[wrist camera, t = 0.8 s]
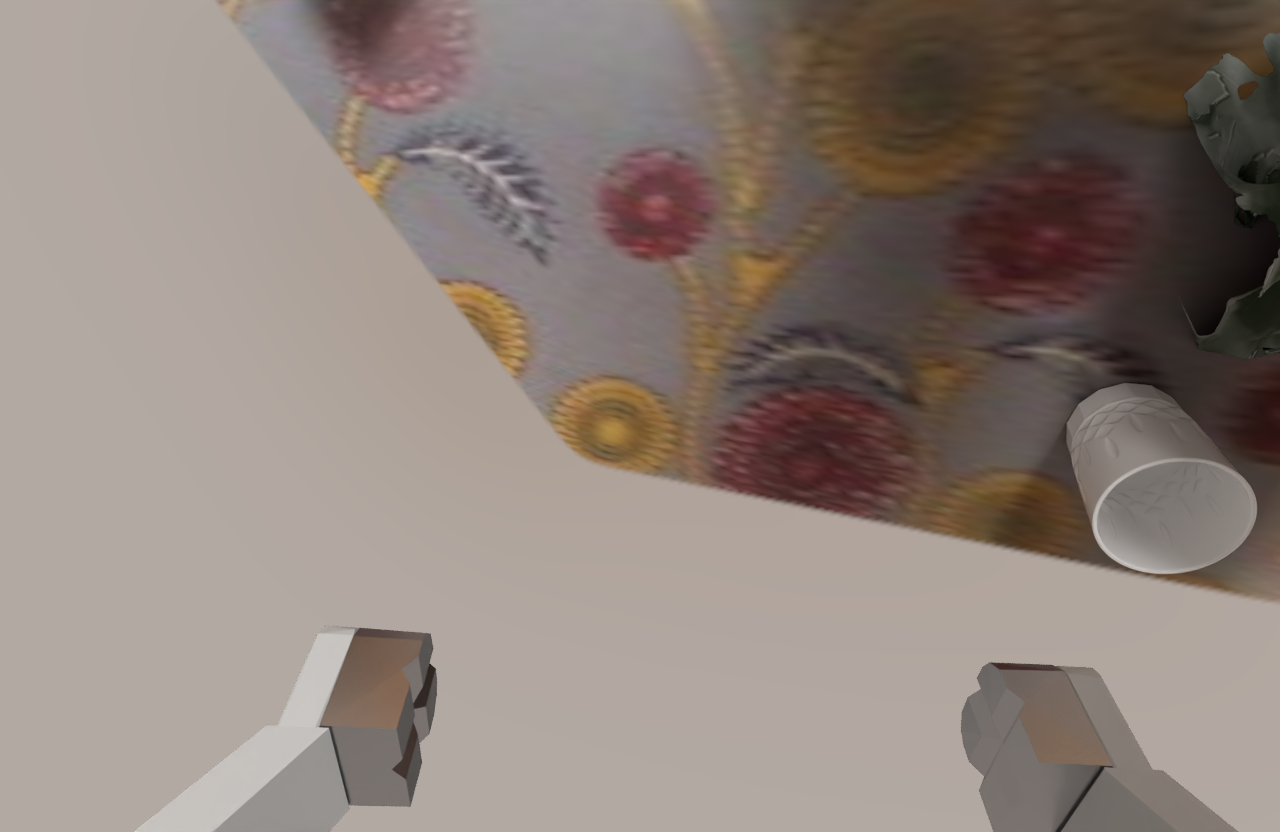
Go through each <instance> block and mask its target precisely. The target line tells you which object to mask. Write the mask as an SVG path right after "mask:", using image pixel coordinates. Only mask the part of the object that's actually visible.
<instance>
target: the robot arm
mask: <svg viewBox="0 0 1280 832" xmlns="http://www.w3.org/2000/svg"><path fill="white" fill-rule="evenodd" d="M432 651H433V645H432V639H431V634H429V633H416V632H403V631H393V630H392V631H391V630H380V629H368V628H354V627H338V626H324V627H323V628H322V630H321V631H320V632H319V633H318V634H317V636H316V638H315V640H314V642H313V645H312V647H311V649H310V652H309V654H308V656H307V658H306V661H305V663H304V665H303V668H302V670H301V672H300V675H299V677H298V679H297V681H296V684H295V686H294V688H293V690H292V693H291V695H290V697H289V700H288V702H287V704H286V706H285V709H284V711H283V713H282V716H281V718H280V720H279V722H278V725H266V726H265V727H263V728H262V729H261V730H260V731H258V732H257V733H256V734H255V735H253V736H252V737H251V738H250V739H248V740H247V741H246V742H245V743H244V744H242V745H241V746H240V747H238V749H236V750H235V751H233V752H232V753H231V754H230V755H229V756H227V757H226V758H225V759H224V760H222V761H221V762H220V763H219V764H217V765H216V766H215V767H214V768H212V769H211V770H210V771H209V772H207V773H206V774H205V775H204V776H202V777H201V778H200V779H199V780H198V781H196V782H195V783H194V784H192V785H191V786H190V787H189V788H188V789H186V790H185V791H184V792H183V793H181V794H180V795H179V796H178V797H176V798H175V799H174V800H173V801H171V802H170V803H169V804H168V805H166V806H165V807H164V808H163V809H161V810H160V811H159V812H158V813H156V814H155V815H154V816H153V817H152V818H150V819H149V820H148V821H147V822H145V823H144V824H143V825H142V826H140V827H139V828H138V829H137V830H136V831H134V832H330V831H331V829H332V828H333V827H334V826H335V825H336V824H337V823H338V822H339V820H340V819H341V818H342V817H343V816H344V815H345V813H347V811H348V810H349V805H360V806H361V805H362V806H409V807H410V806H411V802H412V799H413V795H414V791H415V787H416V783H417V780H418V776H419V772H420V768H421V764H422V759H421V752H420V744H419V743H420V742H421V741H422V740H423V739H424V738H425V737H426V736H428V735H429V733H430V729H431V725H432V721H433V717H434V710H435V703H436V696H437V676H436V669H435V668H434V667H433V666H432V665H431V664H430V659H431V655H432ZM977 679H978V682H979V684H980V687H981V689H980V690H979V691H977V692H976V693H974V694H972V695H971V696H969V697H968V698H967V701H966V703H965V706H964V708H963V711H962V720H961V733H962V738H963V744H964V748H965V750H966V754H967V757H968V760H969V762H970V763H971V764H972V765H973V766H974V767H975V768H976V769H977V770H978V771H979V772H980V773H981V774H983V775H984V779H983V782H982V784H981V787H980V789H979V792H980V795H981V798H982V800H983V803H984V806H985V809H986V812H987V814H988V817H989V820H990V823H991V826H992V829H993V831H994V832H1238V831H1237V830H1236V829H1234V828H1233V827H1231V825H1229V824H1228V823H1227V822H1226V821H1224V820H1223V819H1222V818H1221V817H1219V816H1218V815H1217V814H1216V813H1215V812H1213V811H1212V810H1211V809H1210V808H1208V807H1207V806H1206V805H1205V804H1203V803H1202V802H1201V801H1200V800H1199V799H1197V798H1196V797H1195V796H1194V795H1192V794H1191V793H1190V792H1189V791H1187V790H1186V789H1185V788H1184V787H1183V786H1181V785H1180V784H1179V783H1178V782H1176V781H1175V780H1174V779H1172V778H1171V777H1170V776H1169V775H1167V773H1165V772H1164V771H1161V770H1153V769H1152V768H1151V766H1150V764H1149V762H1148V761H1147V759H1146V757H1145V755H1144V753H1143V751H1142V750H1141V748H1140V746H1139V744H1138V743H1137V741H1136V739H1135V737H1134V735H1133V733H1132V732H1131V730H1130V728H1129V727H1128V724H1127V723H1126V721H1125V719H1124V717H1123V715H1122V713H1121V712H1120V710H1119V708H1118V706H1117V705H1116V703H1115V701H1114V699H1113V697H1112V695H1111V694H1110V692H1109V690H1108V688H1107V687H1106V685H1105V683H1104V681H1103V679H1102V677H1101V676H1100V674H1098V673H1097V672H1096V671H1095V670H1094V669H1093V668H1085V667H1066V666H1065V667H1064V666H1053V665H1039V664H1013V663H988V664H986V665H985V666H983V667H982V669H981V671H980V673H979V675H978V677H977Z"/></svg>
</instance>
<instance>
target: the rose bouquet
mask: <svg viewBox="0 0 1280 832" xmlns="http://www.w3.org/2000/svg"><path fill="white" fill-rule="evenodd" d="M1263 46H1264V48H1265V51H1266V53H1267V56H1268V58H1269V61H1270V62H1271V63H1272V65H1273V67H1274V71H1273V72H1272V73H1270V74H1269V75H1267V76H1257V75H1256V74H1255V73H1254V72H1253V71H1252V70H1251V69H1250V68H1249V67H1248V66H1247V65H1246V64H1244V63H1243V62H1242V61H1241V60H1239V59H1238V58H1236V57H1234V56H1231V55H1230V54H1229V53H1226V54H1223V59H1220V60H1219V64H1217V65H1214V66H1211V67H1210V68H1209V70H1208V71H1207V72H1206V74H1205V75H1204V76H1203V77H1202V78H1201V79H1200V80H1199V81H1198V82H1197V83H1196V84H1195V85H1194V86H1193V87H1192V88H1190V89H1189V90H1188V91H1187V92H1186V93H1185V94H1184V98H1185V100H1186V101H1187V114H1188V116H1189V117H1191V119H1193V120H1191V121H1192V123H1193V124H1194V125H1195V127H1196V128H1197V129H1196V130H1197V132H1196V134H1197V135H1198V137H1199V140H1200V142H1201V144H1202V146H1203V147H1204V149H1205V151H1206V154H1207V155H1208V156H1209V157H1210V158H1211V161H1212V163H1213V166H1214V167H1215V169H1216V170H1217V172H1218V173H1219V174H1220V175H1221V177H1222V179H1224V182H1226V183H1227V186H1228V187H1230V188H1232V190H1233V191H1234V197H1235V206H1236V209H1235V220H1234V223H1236V224H1237V225H1239V226H1240V227H1243V228H1251V229H1252V226H1253V224H1254V223H1255V219H1256V216H1257V214H1259V215H1264V214H1267V216H1268V219H1270V220H1271V221H1273V222H1275V223H1276V228H1277V231H1278V232H1279V237H1280V32H1278V33H1276V34H1274V33H1272V32H1270V33H1269V34H1267V35H1266V36H1265V38H1264V39H1263ZM1253 81H1256V82H1257V83H1258V85H1259V86H1258V87H1257V88H1256V89H1255V91H1254V92H1253V93H1252V94H1251V96H1250V97H1248V98H1246V99H1242V100H1240V99H1241V98H1240V97H1239V94H1238V93H1237V91H1238V87H1239V86H1241V85H1243V84H1245V83H1246V82H1253ZM1240 208H1242V209H1244V213H1242V214H1243V217H1244V222H1245V224H1244V225H1242V224H1241V223H1240V222H1239V220H1238V217H1239V209H1240ZM1278 256H1279V258H1277V259H1274V263H1273V264H1272V265H1271V266H1270V267H1269V268H1268V272H1267V275H1266V279H1265V282H1264V284H1263V285H1261V286H1260V287H1258V288H1256V289H1254V290H1251V291H1249V292H1247V293H1245V294H1242V295H1239V296H1236V297H1232V298H1231V299H1229V300H1228V302H1227V306H1226V311H1225V313H1224V316H1223V317H1222V320H1221V321H1220V323H1219V325H1218V327H1217V328H1216V330H1215V332H1213V334H1210V335H1206V336H1198V335H1197V334H1196V332H1195V330H1194V328H1193V326H1192V323H1191V321H1190V319H1189V317H1188V315H1187V313H1186V311H1185V309H1184V311H1185V313H1186V316H1187V318H1188V321H1189V323H1190V326H1191V328H1192V331H1193V333H1194V336H1195V338H1196V341H1197V346H1198V349H1199V350H1204V351H1209V352H1215V353H1220V354H1225V355H1229V356H1233V357H1237V358H1241V359H1250V358H1256V357H1261V356H1266V355H1271V354H1276V353H1280V249H1279V250H1278ZM1177 294H1178V293H1177ZM1178 296H1179V295H1178ZM1180 301H1181V300H1180ZM1182 306H1183V305H1182ZM1183 308H1184V307H1183Z"/></svg>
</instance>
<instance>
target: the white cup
mask: <svg viewBox="0 0 1280 832" xmlns="http://www.w3.org/2000/svg"><path fill="white" fill-rule="evenodd" d="M1066 443H1067V446H1068V449H1069V452H1070V455H1071V459H1072V465H1073V470H1074V473H1075V476H1076V479H1077V484H1078V487H1079V490H1080V494H1081V497H1082V500H1083V503H1084V506H1085V509H1086V512H1087V515H1088V518H1089V521H1090V524H1091V527H1092V530H1093V533H1094V536H1095V539H1096V541H1097V543H1098V545H1099V546H1100V547H1101V549H1102V550H1103V551H1104V552H1105V553H1106V554H1107V555H1108V556H1109V557H1110V558H1112V559H1113V560H1114V561H1116V562H1118V563H1119V564H1121V565H1123V566H1126V567H1128V568H1131V569H1134V570H1137V571H1141V572H1146V573H1154V574H1176V573H1183V572H1189V571H1193V570H1197V569H1200V568H1203V567H1206V566H1209V565H1211V564H1213V563H1215V562H1217V561H1219V560H1221V559H1223V558H1225V557H1226V556H1228V555H1229V554H1230V553H1232V552H1233V551H1234V550H1235V549H1237V548H1238V547H1239V546H1240V545H1241V544H1242V543H1243V542H1244V540H1245V539H1246V538H1247V536H1248V535H1249V534H1250V532H1251V530H1252V528H1253V526H1254V523H1255V520H1256V516H1257V502H1256V497H1255V494H1254V492H1253V490H1252V488H1251V486H1250V485H1249V483H1248V482H1247V481H1246V480H1245V479H1244V477H1243V476H1242V475H1241V474H1240V473H1239V472H1238V470H1237V469H1236V468H1235V467H1234V466H1233V465H1232V463H1231V462H1230V461H1229V460H1228V459H1227V457H1226V456H1225V455H1224V454H1223V453H1222V451H1221V450H1220V449H1219V448H1218V447H1217V445H1216V444H1215V443H1214V442H1213V441H1212V440H1211V438H1210V437H1209V436H1208V435H1207V434H1206V433H1205V432H1204V431H1203V430H1202V429H1201V428H1200V427H1199V425H1198V424H1197V423H1196V422H1195V421H1194V420H1193V419H1192V418H1191V417H1190V416H1189V415H1187V414H1186V413H1185V412H1184V411H1183V410H1182V408H1181V407H1180V406H1179V405H1178V404H1177V402H1176V401H1175V400H1174V399H1173V398H1172V397H1171V396H1170V395H1168V394H1166V393H1164V392H1162V391H1161V390H1159V389H1157V388H1155V387H1153V386H1152V385H1143V384H1133V383H1122V384H1118V385H1115V386H1111V387H1107V388H1103V389H1099V390H1098V391H1096V392H1095V393H1093V394H1092V395H1090V396H1089V397H1088V398H1086V399H1085V400H1083V401H1082V402H1080V403H1079V404H1078V405H1077V407H1076V409H1075V410H1074V412H1073V413H1072V415H1071V417H1070V418H1069V420H1068V422H1067V435H1066Z"/></svg>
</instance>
